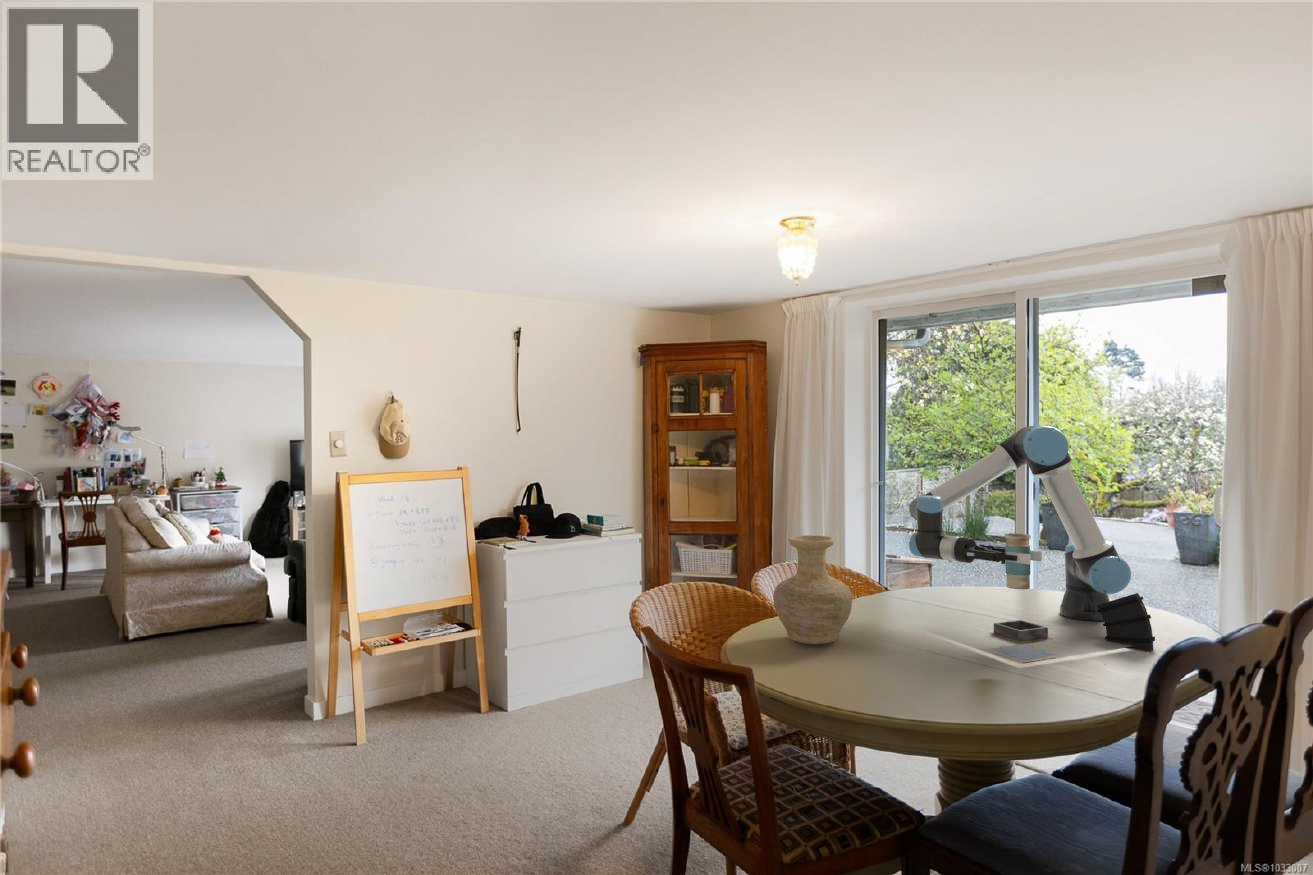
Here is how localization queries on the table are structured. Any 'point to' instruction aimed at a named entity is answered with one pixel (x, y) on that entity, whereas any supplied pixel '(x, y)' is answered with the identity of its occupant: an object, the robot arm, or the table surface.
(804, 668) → the table surface
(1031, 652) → the rubber mat
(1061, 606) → the robot arm
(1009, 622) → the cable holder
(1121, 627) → the magazine
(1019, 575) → the disc
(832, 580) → the vase
